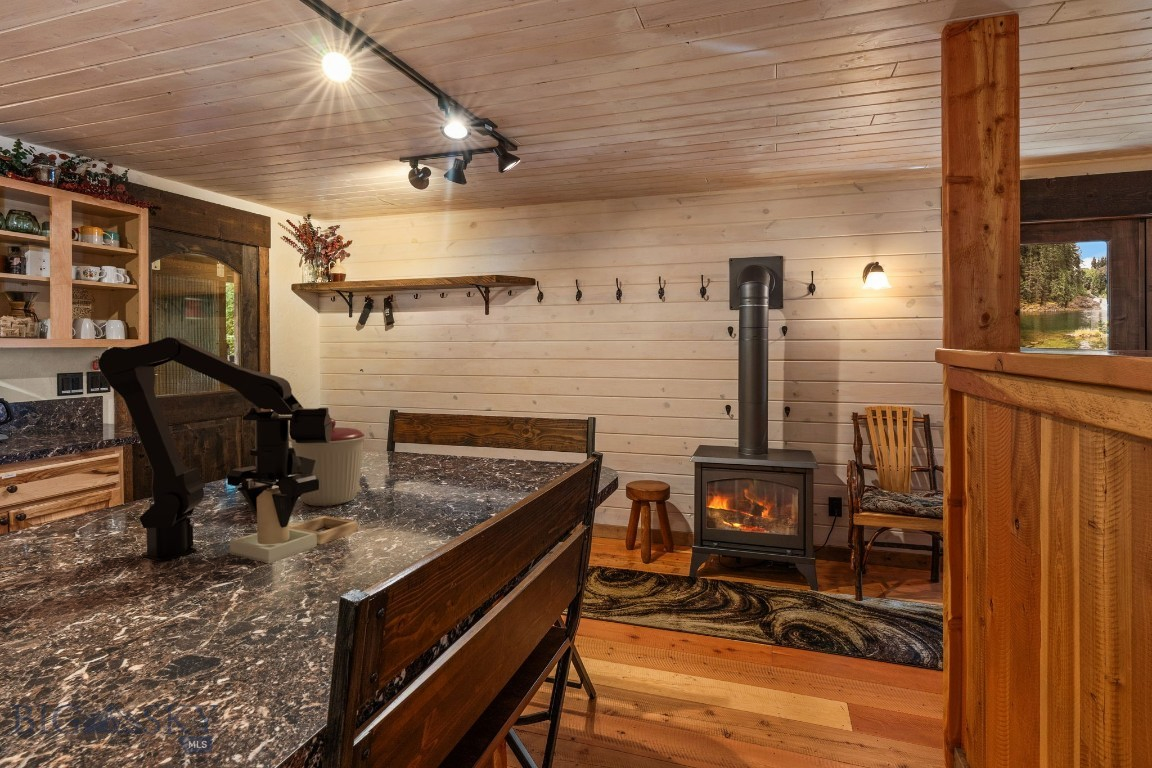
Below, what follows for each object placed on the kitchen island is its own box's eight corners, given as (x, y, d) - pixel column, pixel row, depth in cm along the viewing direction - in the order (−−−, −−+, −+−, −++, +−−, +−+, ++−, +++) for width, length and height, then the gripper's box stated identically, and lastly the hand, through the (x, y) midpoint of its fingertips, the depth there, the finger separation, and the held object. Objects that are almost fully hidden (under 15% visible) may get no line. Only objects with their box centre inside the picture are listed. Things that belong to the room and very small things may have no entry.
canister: (272, 507, 149) (270, 420, 148) (323, 490, 166) (322, 412, 165) (335, 513, 144) (334, 423, 143) (381, 496, 161) (380, 415, 160)
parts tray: (268, 563, 111) (268, 549, 111) (230, 554, 116) (229, 540, 116) (316, 546, 121) (316, 533, 121) (279, 538, 125) (278, 526, 125)
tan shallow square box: (320, 544, 122) (320, 534, 122) (285, 537, 126) (285, 527, 126) (358, 531, 131) (358, 521, 131) (324, 524, 135) (324, 515, 135)
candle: (266, 546, 114) (265, 493, 114) (251, 540, 118) (251, 489, 117) (295, 539, 119) (294, 488, 118) (280, 534, 122) (279, 484, 121)
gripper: (341, 442, 120) (342, 521, 121) (275, 434, 128) (276, 508, 129) (293, 450, 110) (294, 536, 111) (224, 441, 118) (226, 522, 119)
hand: (273, 524), depth 118 cm, fingers closed on candle, 5 cm apart
